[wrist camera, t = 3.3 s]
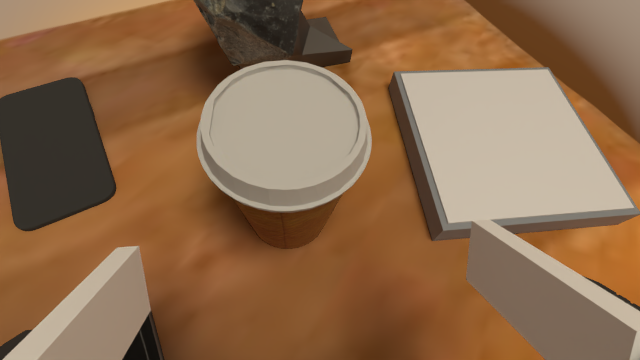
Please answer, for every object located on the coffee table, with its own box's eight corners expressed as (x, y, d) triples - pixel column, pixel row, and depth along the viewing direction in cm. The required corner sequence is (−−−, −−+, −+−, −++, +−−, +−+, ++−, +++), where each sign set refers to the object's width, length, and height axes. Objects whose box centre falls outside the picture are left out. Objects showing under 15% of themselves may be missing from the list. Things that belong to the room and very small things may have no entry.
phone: (14, 235, 25) (-8, 98, 31) (21, 238, 26) (-1, 104, 32) (118, 194, 27) (79, 73, 33) (122, 198, 28) (84, 80, 34)
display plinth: (432, 240, 27) (444, 229, 25) (388, 88, 36) (394, 70, 33) (617, 224, 29) (643, 212, 27) (535, 83, 38) (549, 65, 35)
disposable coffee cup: (269, 147, 31) (257, 34, 20) (363, 192, 29) (402, 94, 19) (205, 233, 26) (148, 144, 16) (312, 292, 25) (325, 235, 14)
